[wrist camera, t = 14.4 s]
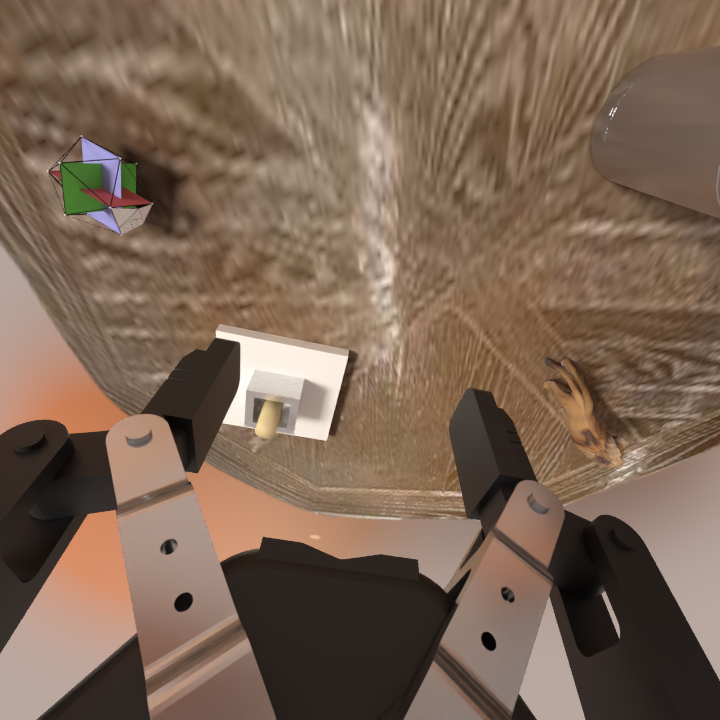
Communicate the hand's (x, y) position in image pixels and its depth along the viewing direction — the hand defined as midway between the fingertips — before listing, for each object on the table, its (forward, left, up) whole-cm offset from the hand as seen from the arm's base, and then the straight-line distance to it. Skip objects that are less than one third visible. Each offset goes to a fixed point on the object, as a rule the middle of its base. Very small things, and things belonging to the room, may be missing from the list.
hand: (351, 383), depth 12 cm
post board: (+6, +25, -27) cm, 38 cm away
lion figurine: (-33, +17, -27) cm, 46 cm away
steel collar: (+6, +25, -26) cm, 37 cm away
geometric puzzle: (+23, +3, -27) cm, 36 cm away
